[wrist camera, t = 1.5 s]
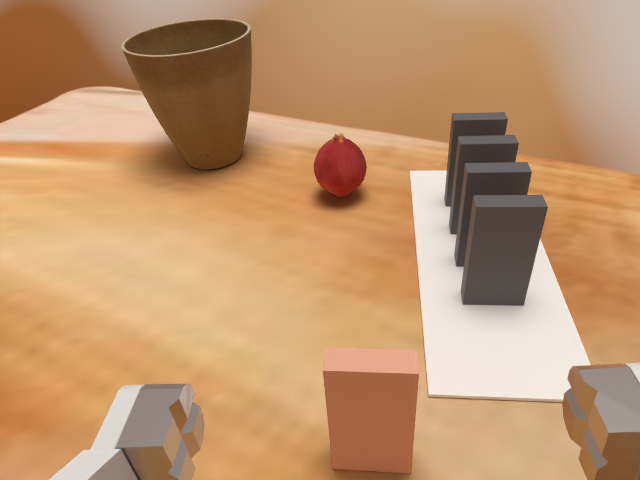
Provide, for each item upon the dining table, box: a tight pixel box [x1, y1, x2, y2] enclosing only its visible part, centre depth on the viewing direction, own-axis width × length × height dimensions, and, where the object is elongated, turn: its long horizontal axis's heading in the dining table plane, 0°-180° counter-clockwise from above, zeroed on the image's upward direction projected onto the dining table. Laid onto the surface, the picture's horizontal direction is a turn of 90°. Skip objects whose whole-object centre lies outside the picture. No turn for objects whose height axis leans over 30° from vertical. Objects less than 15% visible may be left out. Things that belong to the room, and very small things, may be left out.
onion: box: [314, 133, 367, 197], centre depth 57 cm, size 6×6×8 cm
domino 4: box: [461, 195, 548, 306], centre depth 41 cm, size 5×2×10 cm, turn 85°
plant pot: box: [122, 18, 252, 170], centre depth 64 cm, size 15×15×16 cm
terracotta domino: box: [323, 347, 419, 474], centre depth 30 cm, size 5×2×10 cm, turn 85°
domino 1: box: [444, 112, 508, 207], centre depth 53 cm, size 5×2×10 cm, turn 84°
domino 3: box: [454, 162, 532, 267], centre depth 45 cm, size 5×2×10 cm, turn 84°
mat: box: [410, 170, 591, 402], centre depth 49 cm, size 12×32×1 cm, turn 174°
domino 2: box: [449, 135, 519, 234], centre depth 49 cm, size 5×2×10 cm, turn 84°
